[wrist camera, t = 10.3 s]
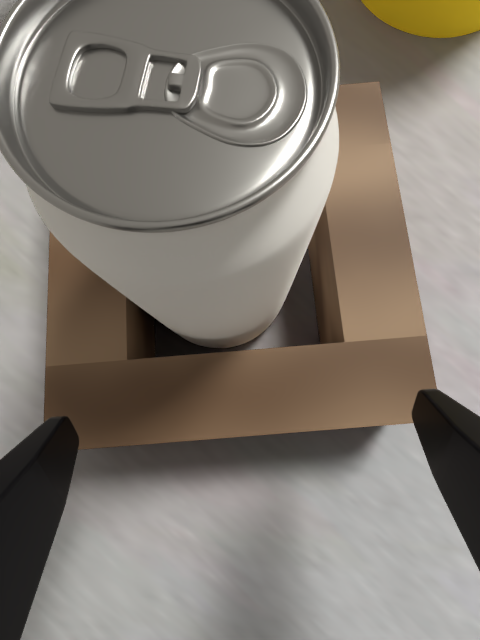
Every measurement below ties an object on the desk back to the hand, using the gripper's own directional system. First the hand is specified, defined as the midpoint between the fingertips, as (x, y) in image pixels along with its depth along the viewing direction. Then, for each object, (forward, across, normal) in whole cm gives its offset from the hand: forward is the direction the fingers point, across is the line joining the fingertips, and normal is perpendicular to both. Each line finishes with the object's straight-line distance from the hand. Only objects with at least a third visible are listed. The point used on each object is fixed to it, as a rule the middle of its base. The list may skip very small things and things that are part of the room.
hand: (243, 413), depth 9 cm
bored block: (+9, 0, +1) cm, 9 cm away
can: (+9, +1, +1) cm, 10 cm away
